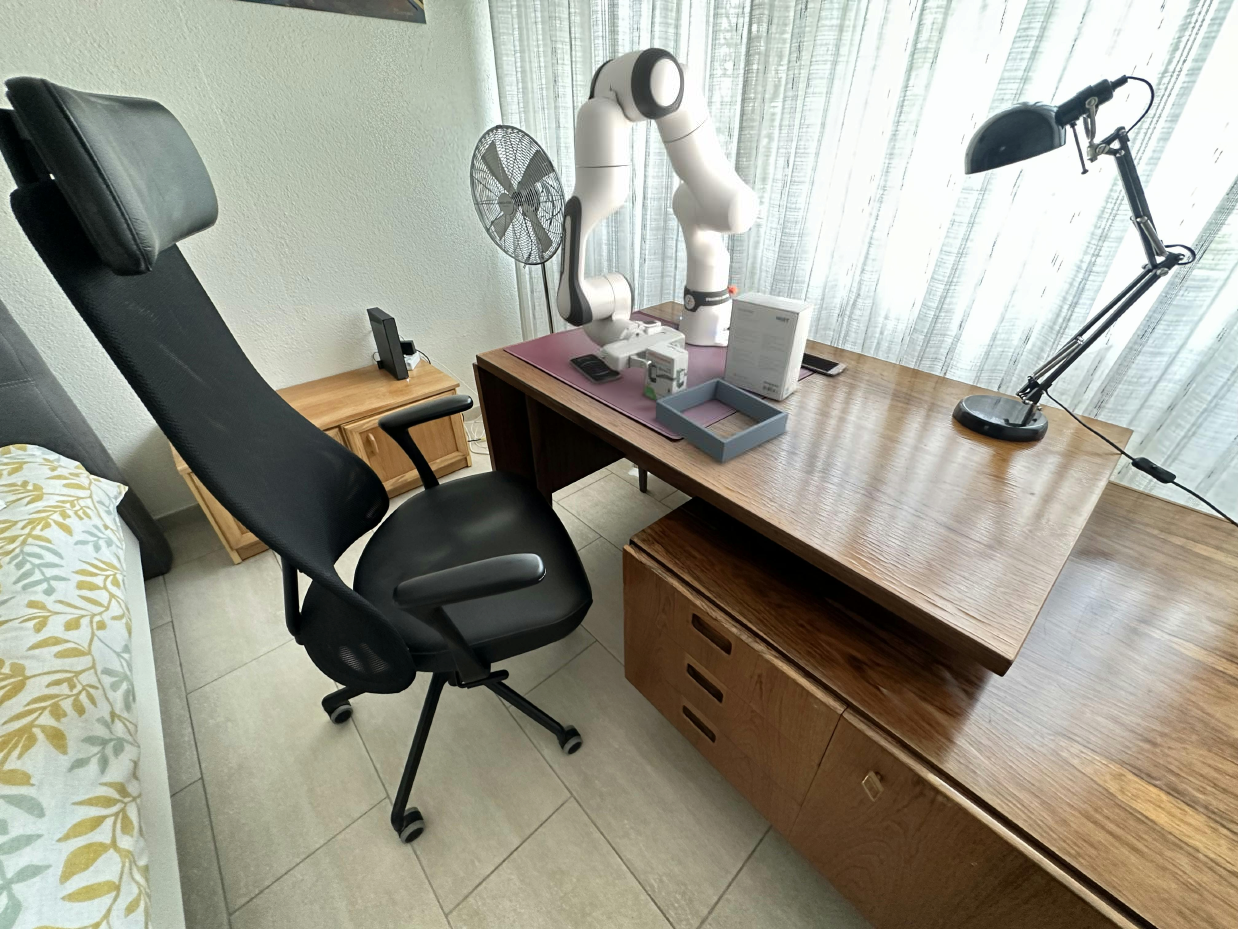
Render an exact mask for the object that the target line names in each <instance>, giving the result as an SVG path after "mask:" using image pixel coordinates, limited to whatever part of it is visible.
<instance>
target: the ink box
mask: <svg viewBox="0 0 1238 929" xmlns="http://www.w3.org/2000/svg"><path fill="white" fill-rule="evenodd" d="M689 355H690V354H689V351H687V350H685V349H684V350H683V349H681V348H678V347H676V346H673V345H671V344H668V343H666V342H663V341H662V342H658V343H656V344H653V345H651V346H649V347H646V359H649V360H651V362H652V365H651V366H652V368H650V369H648V370H645V375H644V377H645V378H644V379H645V381H644V395H645V397H648V398H651V399H653V400H654V401H657V400H660V399H662V398H665V397H668V396H670V395H673V394H676V393H678V392H681V391H684V390H686V389H687V379H688V378H687V377H688V367H689V366H688V365H689Z"/></svg>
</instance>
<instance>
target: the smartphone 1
mask: <svg viewBox="0 0 1238 929" xmlns="http://www.w3.org/2000/svg"><path fill="white" fill-rule="evenodd" d="M569 364H570V365H572V367H574V368H575V369H576V370H577V371H579V373H581V374H582V375H583V376H585V377H586V378H587V379H588V380H590V381H591V382H592V383H593V384H596V385H600V384H604V383H607V382H610V381H614V380H618V379H620V378H621V372H620V371H616V370H613V369H611V368H610V367H609V366H607V365H606V364H605V363H604V361H603V359H602V358H599V357H598V356H596V354H594V353H588V354H584V355H581V356H578V357H574V358H571V359H569Z"/></svg>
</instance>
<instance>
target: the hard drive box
mask: <svg viewBox="0 0 1238 929" xmlns="http://www.w3.org/2000/svg"><path fill="white" fill-rule="evenodd" d="M731 300H732V307H731V316H730V325H729V334H728V343H727V346H726V354H725V361H724V362H725V363H724V371H723V378H722V380H723V381H725V382H727V383H729V384H731V385H733V386H735V387H737V388H739V389H742V390H745V391H750V392H752V393H755V394H758V395H760V396H763V397H766V398H769V399H773V400H776V401H778V402H781V401H783V400H785V399H787V397H789V396H790V395H792V393H794V392H795V391H796V390H797V387H798V381H799V376H800V371H801V368H802V367H801V363H802V358H803V353H804V352H805V348H806V343H807V339H808V335H809V330H810V325H811V319H812V315H813V310H814V305H815V303H812V302H807V301H802V300H798V299H792V298H787V297H782V296H776V295H770V294H765V293H760V292H755V291H747V292H745V293H742V294H740V295H738V296H736V297H733V298H732V299H731Z"/></svg>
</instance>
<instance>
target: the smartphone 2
mask: <svg viewBox="0 0 1238 929" xmlns="http://www.w3.org/2000/svg"><path fill="white" fill-rule="evenodd" d="M800 368H804V369H808V370H811V371H813V372H817V373H820V374H822V375H824V376H825V375H826V376H829V377H835V376H837V375H839V374H840V373H841V372H843V371H845V370H846V368H847V365H846V364H845V363H841V362H838V361H835V360H832V359H828V358H825V357H822V356H820V355H816V354H812V353H810V352H805V351H804V353H803V358H802V363H801V367H800Z"/></svg>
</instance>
